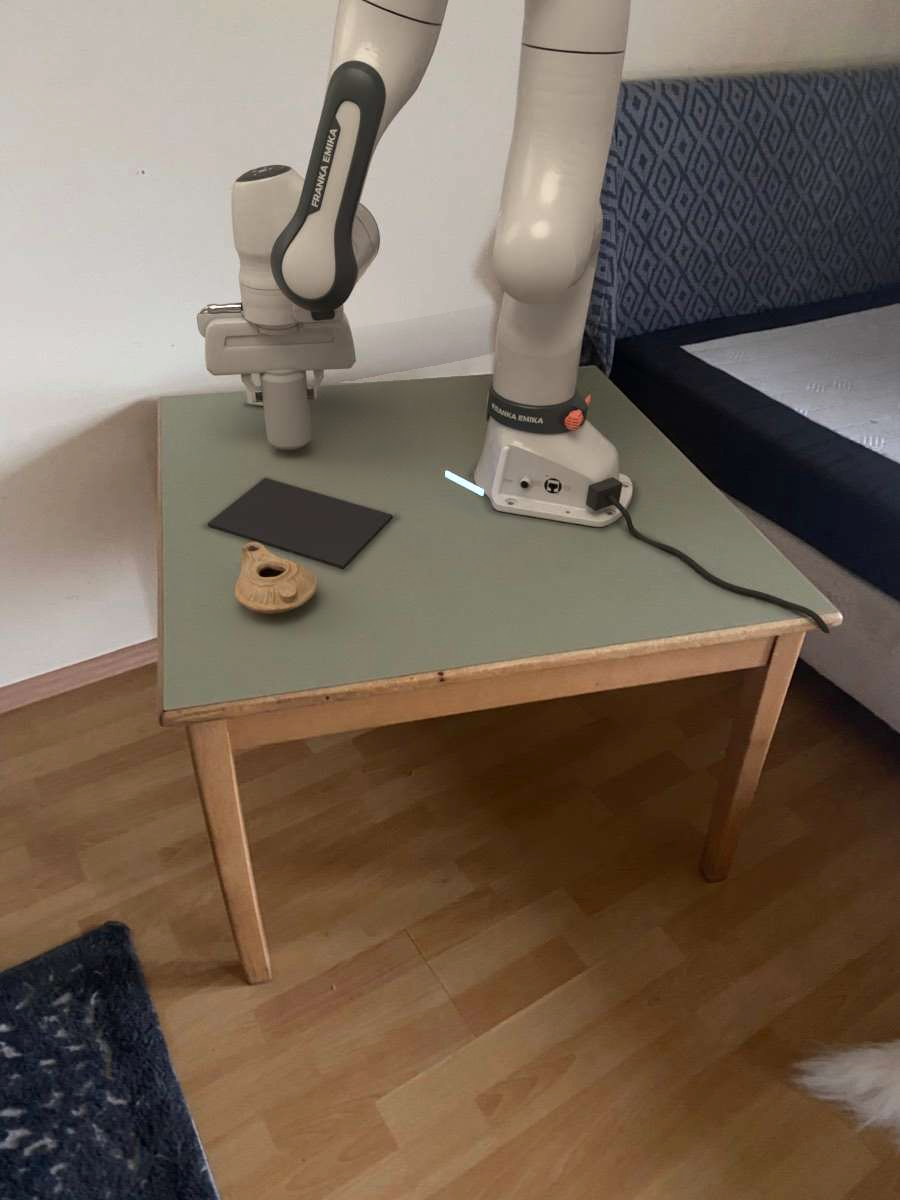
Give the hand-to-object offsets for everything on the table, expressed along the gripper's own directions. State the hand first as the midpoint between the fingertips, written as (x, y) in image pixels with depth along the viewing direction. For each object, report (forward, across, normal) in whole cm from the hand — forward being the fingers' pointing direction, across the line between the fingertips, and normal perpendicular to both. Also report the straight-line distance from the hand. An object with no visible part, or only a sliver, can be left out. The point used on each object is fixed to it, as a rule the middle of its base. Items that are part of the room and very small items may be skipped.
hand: (285, 399), depth 123 cm
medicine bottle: (+8, -2, +18) cm, 20 cm away
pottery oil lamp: (+9, -3, -34) cm, 35 cm away
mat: (+8, +1, -19) cm, 21 cm away
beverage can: (+7, 0, 0) cm, 7 cm away
